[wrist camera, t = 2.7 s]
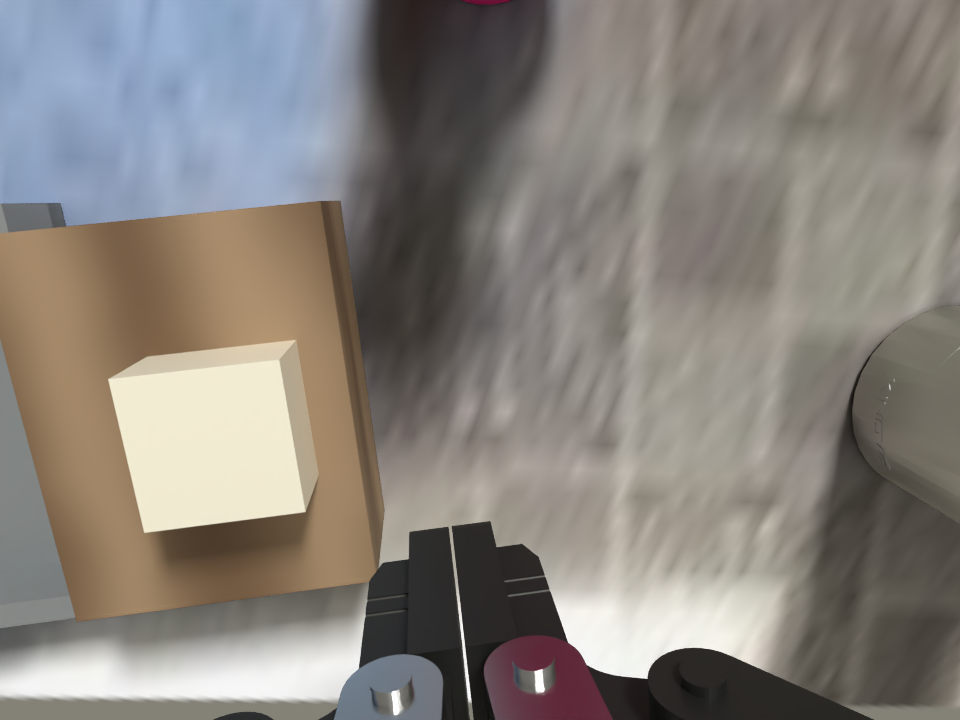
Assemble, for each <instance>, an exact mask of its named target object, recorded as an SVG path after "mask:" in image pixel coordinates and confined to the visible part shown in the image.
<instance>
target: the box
mask: <svg viewBox="0 0 960 720" xmlns="http://www.w3.org/2000/svg"><path fill="white" fill-rule="evenodd" d="M58 227H66V225H65V221H64V217H63V213H62V208H61V204H60V203H20V204H0V233H8V232H18V231H28V230H38V229H48V228H58ZM72 618H75V614H74V610H73V607H72V603H71V599H70V596H69V592H68V588H67V584H66V581H65V577H64V573H63V570H62V566H61V562H60V559H59V555H58V551H57V547H56V544H55V540H54V536H53V533H52V529H51V525H50V522H49V518H48V514H47V510H46V507H45V503H44V499H43V496H42V492H41V488H40V485H39V481H38V477H37V473H36V470H35V466H34V462H33V459H32V455H31V451H30V448H29V444H28V440H27V437H26V433H25V429H24V425H23V422H22V418H21V414H20V411H19V407H18V403H17V400H16V396H15V392H14V388H13V385H12V381H11V377H10V374H9V370H8V366H7V363H6V359H5V355H4V351H3V348H2V344H1V340H0V628H6V627H14V626H21V625H28V624H36V623H43V622H50V621H58V620H65V619H72Z"/></svg>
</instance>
